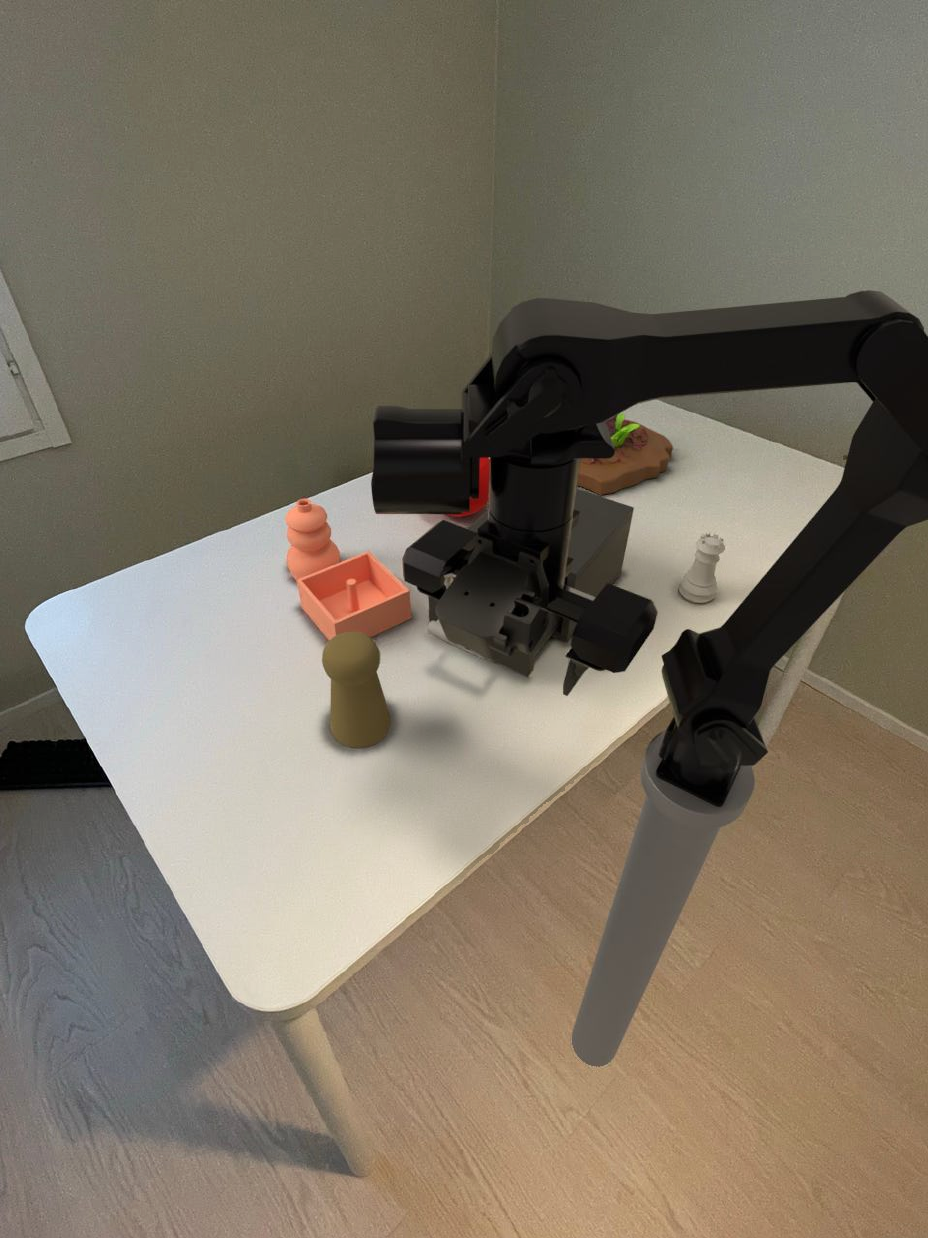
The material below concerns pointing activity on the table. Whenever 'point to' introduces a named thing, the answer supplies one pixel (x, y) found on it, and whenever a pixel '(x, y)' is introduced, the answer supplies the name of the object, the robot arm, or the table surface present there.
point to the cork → (355, 690)
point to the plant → (626, 458)
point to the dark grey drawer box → (592, 547)
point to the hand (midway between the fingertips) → (517, 668)
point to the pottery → (340, 579)
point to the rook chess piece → (703, 570)
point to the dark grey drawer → (516, 662)
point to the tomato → (483, 490)
